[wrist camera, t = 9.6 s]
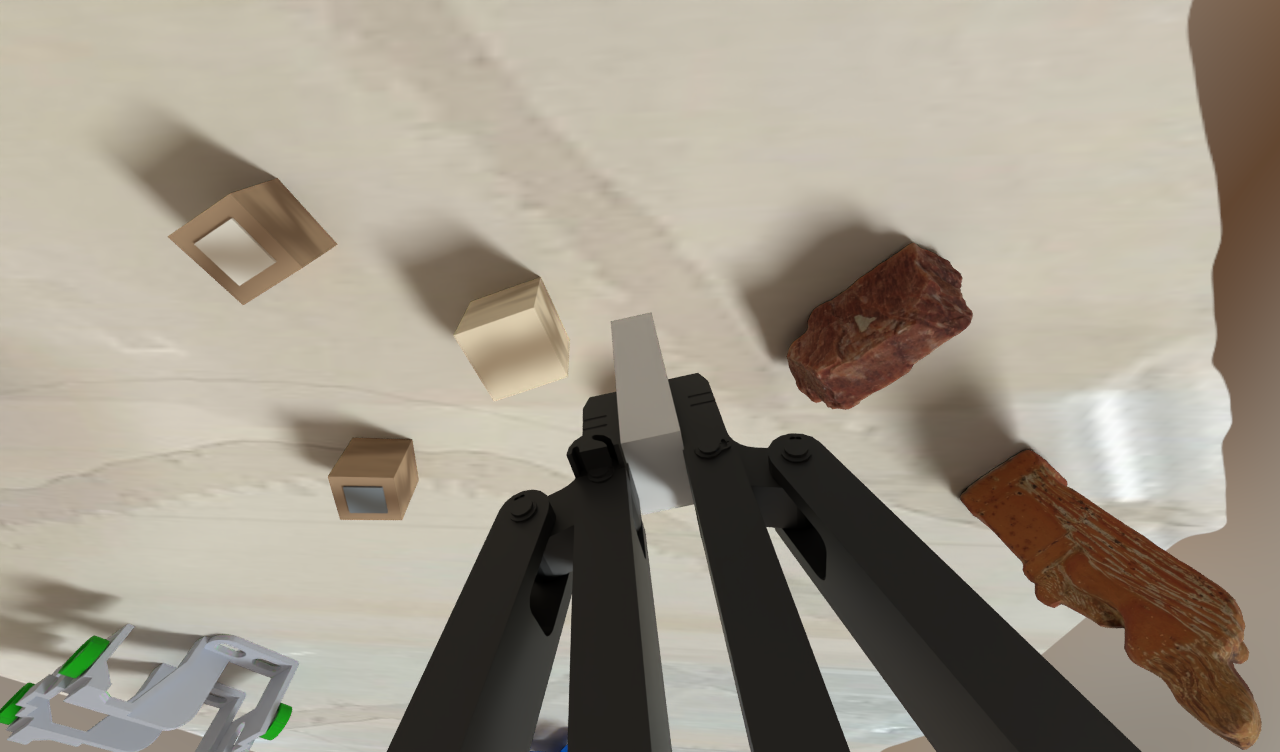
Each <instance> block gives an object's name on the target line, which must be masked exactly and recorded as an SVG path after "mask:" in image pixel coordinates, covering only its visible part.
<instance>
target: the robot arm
mask: <svg viewBox="0 0 1280 752" xmlns="http://www.w3.org/2000/svg"><path fill="white" fill-rule="evenodd" d="M611 330H612V342H613V355H614V367H615V379H616V392H613V393H608V394H604V395H599V396H595V397H590V398H589V399H588V401H587V403H586V405H585V406H584V408H583V436H581V437H580V438H578V439H577V440H575V441H574V442H573V443H572V445H571V446H570V447H569V449H568V452H567V458H568V460H569V463H570V465H571V468H572V470H573V473H574V475H575V480H574V481H573V482H572V483H570V484H569V485H568V486H566V487H565V488H563V489H561V490H559V491H557V492H555V493H553V494H551V495H549V496H547V495H546V494H544V493H543V492H541V491H538V490H527V491H522V492H520V493H518V494H516V495H514V496H512V497H511V498H510V499H509V500H507V501H506V502H505V503H504V505H503V506H502V508H501V509H500V510H499V513H498V515H497V517H496V519H495V521H494V523H493V525H492V527H491V530H490V532H489V534H488V536H487V538H486V540H485V542H484V545H483V547H482V549H481V551H480V553H479V555H478V557H477V560H476V562H475V564H474V566H473V568H472V570H471V572H470V575H469V577H468V579H467V581H466V583H465V585H464V587H463V590H462V592H461V594H460V596H459V598H458V600H457V602H456V605H455V607H454V609H453V611H452V613H451V615H450V617H449V620H448V622H447V624H446V626H445V628H444V630H443V632H442V634H441V637H440V639H439V641H438V643H437V645H436V647H435V649H434V652H433V654H432V656H431V658H430V660H429V662H428V664H427V667H426V669H425V671H424V673H423V675H422V677H421V679H420V682H419V684H418V686H417V688H416V690H415V692H414V694H413V697H412V699H411V701H410V703H409V705H408V707H407V709H406V712H405V714H404V716H403V718H402V720H401V722H400V724H399V727H398V729H397V731H396V733H395V735H394V737H393V739H392V741H391V744H390V746H389V748H388V750H387V752H529V750H530V747H531V743H532V739H533V735H534V732H535V728H536V724H537V721H538V717H539V713H540V710H541V706H542V702H543V699H544V695H545V691H546V687H547V684H548V680H549V676H550V673H551V669H552V665H553V662H554V658H555V654H556V651H557V647H558V643H559V640H560V636H561V632H562V628H563V625H564V621H565V617H566V614H567V610H568V606H569V603H570V599H571V595H572V615H571V649H570V683H569V716H568V750H567V752H672V748H671V739H670V731H669V723H668V715H667V706H666V698H665V690H664V682H663V673H662V665H661V657H660V649H659V641H658V632H657V624H656V616H655V608H654V599H653V591H652V583H651V575H650V566H649V558H648V550H647V542H646V534H645V529H644V526H643V522H642V519H641V512H642V515H644V514H649V513H654V512H659V511H664V510H669V509H673V508H678V507H683V506H688V505H693V504H694V506H695V510H696V515H697V520H698V525H699V530H700V535H701V538H702V542H703V546H704V550H705V555H706V559H707V563H708V568H709V572H710V576H711V581H712V585H713V589H714V594H715V598H716V602H717V607H718V611H719V615H720V620H721V624H722V628H723V633H724V637H725V641H726V646H727V650H728V654H729V659H730V663H731V667H732V672H733V676H734V680H735V685H736V689H737V693H738V698H739V702H740V706H741V711H742V715H743V719H744V724H745V728H746V732H747V737H748V741H749V745H750V750H751V752H850V750H849V747H848V745H847V742H846V739H845V737H844V734H843V731H842V729H841V726H840V723H839V721H838V718H837V715H836V713H835V710H834V707H833V705H832V702H831V699H830V697H829V694H828V691H827V689H826V686H825V683H824V681H823V678H822V675H821V673H820V670H819V667H818V664H817V662H816V659H815V656H814V654H813V651H812V648H811V646H810V643H809V640H808V638H807V635H806V632H805V630H804V627H803V624H802V622H801V619H800V616H799V614H798V611H797V608H796V606H795V603H794V600H793V598H792V595H791V592H790V590H789V587H788V584H787V582H786V579H785V576H784V574H783V571H782V568H781V566H780V563H779V560H778V558H777V555H776V552H775V550H774V547H773V544H772V541H771V539H770V536H769V533H768V531H767V528H766V527H774V528H775V530H776V532H777V533H778V535H779V536H780V537H781V539H782V540H783V541H784V543H785V544H786V546H787V547H788V548H789V550H790V551H791V552H792V554H793V555H794V557H795V558H796V559H797V561H798V562H799V563H800V565H801V566H802V568H803V569H804V570H805V572H806V573H807V574H808V576H809V577H810V579H811V580H812V581H813V583H814V584H815V585H816V587H817V588H818V590H819V591H820V592H821V594H822V595H823V596H824V598H825V599H826V601H827V602H828V603H829V605H830V606H831V607H832V609H833V610H834V612H835V613H836V614H837V616H838V617H839V618H840V620H841V621H842V623H843V624H844V625H845V627H846V628H847V629H848V631H849V632H850V633H851V635H852V636H853V638H854V639H855V640H856V642H857V643H858V644H859V646H860V647H861V649H862V650H863V651H864V653H865V654H866V655H867V657H868V658H869V660H870V661H871V662H872V664H873V665H874V666H875V668H876V669H877V671H878V672H879V673H880V675H881V676H882V677H883V679H884V680H885V682H886V683H887V684H888V686H889V687H890V688H891V690H892V691H893V693H894V694H895V695H896V697H897V698H898V699H899V701H900V702H901V704H902V705H903V706H904V708H905V709H906V710H907V712H908V713H909V715H910V716H911V717H912V719H913V720H914V721H915V723H916V724H917V725H918V727H919V728H920V730H921V731H922V732H923V734H924V735H925V736H926V738H927V739H928V741H929V742H930V743H931V745H932V746H933V747H934V749H935V750H936V752H1141V751H1140V750H1139V749H1138V748H1137V747H1136V746H1135V745H1134V744H1133V743H1132V742H1131V741H1130V740H1129V739H1128V738H1126V736H1124V734H1123V733H1121V732H1120V731H1119V730H1118V729H1117V728H1116V727H1115V726H1114V725H1113V724H1112V723H1111V722H1110V721H1109V720H1108V719H1107V718H1106V717H1105V716H1104V715H1103V714H1102V713H1101V712H1099V710H1098V709H1096V707H1095V706H1093V705H1092V704H1091V703H1090V702H1089V701H1088V700H1087V699H1086V698H1085V697H1084V696H1083V695H1082V694H1081V693H1080V692H1079V691H1078V690H1077V689H1076V688H1075V687H1074V686H1073V685H1072V684H1071V683H1069V681H1067V680H1066V679H1065V678H1064V677H1063V676H1062V675H1061V674H1060V673H1059V672H1058V671H1057V670H1056V669H1055V668H1054V667H1053V666H1052V665H1051V664H1050V663H1049V662H1048V661H1047V660H1046V659H1044V657H1042V655H1040V654H1039V653H1038V652H1037V651H1036V650H1035V649H1034V648H1033V647H1032V646H1031V645H1030V644H1029V643H1028V642H1027V641H1026V640H1025V639H1024V638H1023V637H1022V636H1021V635H1020V634H1019V633H1018V632H1017V631H1016V630H1015V629H1013V628H1012V627H1011V626H1010V625H1009V624H1008V623H1007V622H1006V621H1005V620H1004V619H1003V618H1002V617H1001V616H1000V615H999V614H998V613H997V612H996V611H995V610H994V609H993V608H992V607H991V606H990V605H989V604H987V603H986V602H985V601H984V600H983V599H982V598H981V597H980V596H979V595H978V594H977V593H976V592H975V591H974V590H973V589H972V588H971V587H970V586H969V585H968V584H967V583H966V582H965V581H964V580H963V579H962V578H960V577H959V576H958V575H957V574H956V573H955V572H954V571H953V570H952V569H951V568H950V567H949V566H948V565H947V564H946V563H945V562H944V561H943V560H942V559H941V558H940V557H939V556H938V555H937V554H936V553H935V552H933V551H932V550H931V549H930V548H929V547H928V546H927V545H926V544H925V543H924V542H923V541H922V540H921V539H920V538H919V537H918V536H917V535H916V534H915V533H914V532H913V531H912V530H911V529H910V528H909V527H907V526H906V525H905V524H904V523H903V522H902V521H901V520H900V519H899V518H898V517H897V516H896V515H895V514H894V513H893V512H892V511H891V510H890V509H889V508H888V507H887V506H886V505H885V504H884V503H883V502H882V501H880V500H879V499H878V498H877V497H876V496H875V495H874V494H873V493H872V492H871V491H870V490H869V489H868V488H867V487H866V486H865V485H864V484H863V483H862V482H861V481H860V480H859V479H858V478H857V477H856V476H855V475H853V474H852V473H851V472H850V471H849V470H848V469H847V468H846V467H845V466H844V465H843V464H842V463H841V462H840V461H839V460H838V459H837V458H836V457H835V456H834V455H833V454H832V453H831V452H830V451H829V450H827V449H826V448H825V447H824V446H823V445H822V444H821V443H820V442H819V441H817V440H816V439H814V438H813V437H811V436H807V435H804V434H787V435H782V436H780V437H778V438H777V439H775V440H773V441H772V443H771V444H770V446H769V447H768V448H755V447H747V446H744V445H741V444H739V443H737V442H735V441H734V440H733V439H732V438H730V436H729V435H728V433H727V431H726V428H725V425H724V423H723V420H722V417H721V415H720V412H719V409H718V407H717V404H716V402H715V398H714V396H713V393H712V390H711V388H710V385H709V382H708V380H706V379H705V378H704V377H703V376H701V375H700V374H699V373H695V374H691V375H686V376H681V377H677V378H672V379H668V378H667V374H666V370H665V366H664V362H663V358H662V354H661V349H660V345H659V341H658V337H657V333H656V329H655V325H654V321H653V317H652V313H646V314H642V315H637V316H633V317H629V318H624V319H620V320H615V321H611ZM640 509H641V510H640Z"/></svg>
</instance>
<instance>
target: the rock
mask: <svg viewBox="0 0 1280 752" xmlns="http://www.w3.org/2000/svg"><path fill="white" fill-rule="evenodd" d="M961 282H962V276H961V274H960V273H959V272H958V271H957V270H956V269H954V268H953V267H952V265H951V264H950V262H949V261H948V260H946V259H943V258H942V257H939V256H938V255H936V254H935V253H933V252H931V251H928V250H925V249H922V248H920V247H919V246H918V245H917V244H915V243H911V244H909V245H907V246H906V247H905V248H903V249H902V250H901V251H899V252H898V253H896V254H895V255H893V256H892V257H891V258H889V259H888V260H886V261H885V262H883V263H881V264H879V265H878V266H877V267H876V268H874V269H873V270H872V271H870V272H868V273H867V274H865V275H864V276H862V277H861V278H859V279H858V280H857V281H856V282H855V283H854V284H853V285H852V286H850V287H849V288H848V289H847V290H845V291H844V292H842V293H841V294H840V295H838V296H837V297H835V298H834V299H833V300H831V301H827V302H825V303H823V304H821V305H819V306H818V307H817V308H815V309H814V310H813V312H812V313H811V315H810V317H809V320H808V329H807V331H806V333H804V334H803V335H802V336H801V337H799V338H798V339H797V340H795V341H794V342H793V343H792V344H791V346H790V348H789V351H788V354H787V359H788V364H789V368H790V371H791V373H792V375H793V377H794V378H795V380H796V385H797V387H798V389H799V390H800V391H801V392H802V393H804V394H805V395H807V396H808V397H809V398H810V400H811V401H813V402H815V403H817V402H821V401H823V402H824V403H826V405H827V407H831V408H832V409H836V408H838V409H839V408H840V409H845V410H846V409H850V408H852V407H854V406H856V405H857V404H859V403H860V401H861V400H863V399H864V398H866V397H868V396H869V395H871V394H872V393H874V392H876V391H878V390H880V389H882V388H884V387H886V386H888V385H890V384H891V383H893V382H894V381H896V380H897V379H899V378H900V377H902V376H903V375H905V374H906V373H908V372H909V371H910V370H911V369H912V367H913V365H914V364H915V363H917V362H918V361H919V360H920V359H922V358H924V357H925V356H926V355H928V354H930V353H931V352H932V351H933V350H935V349H936V348H938V347H939V346H940V345H942V344H943V343H945V342H946V341H948V340H949V339H951V338H952V337H954V336H956V335H958V334H959V333H960V332H962V331H963V330H964V329H966V328H967V327H968V326H969V324H970V323H971V320H972V317H973V313H972V311H971V310H970V309H969V308H968V307H967V306H966V302H965V300H964V299H963V297H962V293H961V290H960V288H961Z"/></svg>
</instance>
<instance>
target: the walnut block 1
mask: <svg viewBox="0 0 1280 752" xmlns="http://www.w3.org/2000/svg"><path fill="white" fill-rule="evenodd" d="M168 238H170V239H171V240H172V241H173V242H174V243H175V244H176V245H177V246H178V247H180V248H181V249H182V250H183V251H184V252H185V253H186V254H187V255H188V256H189V257H191V258H192V259H193V260H194V261H195V262H196V263H197V264H198V265H199V266H200V267H202V268H203V269H204V270H205V271H206V272H207V273H208V274H209V275H210V276H212V277H213V278H214V279H215V280H216V281H217V282H218V283H219V284H220V285H221V286H223V287H224V288H225V289H226V290H227V291H228V292H229V293H230V294H231V295H232V296H234V297H235V298H236V299H237V300H238V301H239V302H240V303H241V304H242V305H244V304H246V303H248V302H249V301H251V300H252V299H254V298H255V297H257V296H259V295H260V294H262V293H263V292H265V291H267V290H268V289H270V288H271V287H273V286H274V285H276V284H278V283H279V282H281V281H282V280H284V279H285V278H287V277H289V276H290V275H292V274H293V273H295V272H297V271H298V270H300V269H301V268H303V267H304V266H306V265H307V264H309V263H310V262H312V261H313V260H315V259H316V258H318V257H319V256H321V255H322V254H324V253H325V252H327V251H328V250H330V249H331V248H333V247H334V246H336V245H337V243H336V242H335V241H334V240H333V239H332V238H331V237H330V236H329V234H328V233H327V232H326V231H325V230H324V229H323V228H322V227H321V226H320V225H319V223H318V222H317V221H316V220H315V219H314V218H313V217H312V216H311V215H310V213H309V212H308V211H307V210H306V209H305V208H304V207H303V206H302V205H301V204H300V202H299V201H298V200H297V199H296V198H295V197H294V196H293V195H292V194H291V193H290V191H289V190H288V189H287V188H286V187H285V186H284V185H283V184H282V183H281V181H280V180H279V179H278V178H277V179H274V180H271V181H267V182H264V183H261V184H258V185H255V186H252V187H249V188H246V189H242V190H239V191H236V192H233V193H230V194H229V195H227V196H226V197H224V198H223V199H221V200H220V201H218V202H217V203H216V204H214V205H213V206H211V207H210V208H208V209H207V210H205V211H204V212H203V213H201V214H200V215H198V216H197V217H195V218H194V219H192V220H191V221H190V222H188V223H187V224H185V225H184V226H182V227H181V228H179V229H178V230H177V231H175V232H174V233H172V234H171V235H169V236H168Z"/></svg>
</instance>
